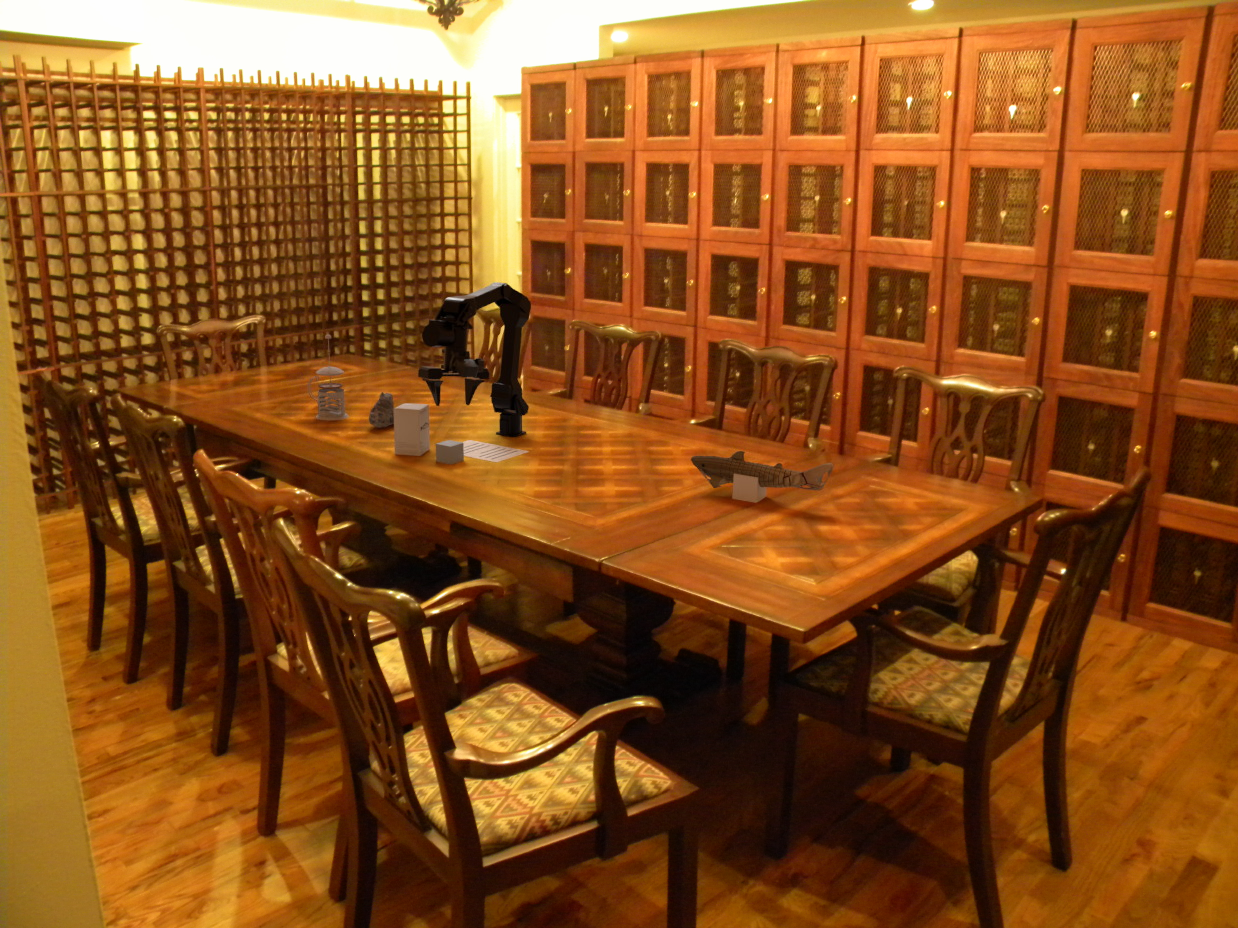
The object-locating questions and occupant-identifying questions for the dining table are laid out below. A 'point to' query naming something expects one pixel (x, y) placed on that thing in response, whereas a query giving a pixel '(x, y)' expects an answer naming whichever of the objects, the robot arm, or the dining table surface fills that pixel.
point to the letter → (489, 451)
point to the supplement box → (411, 429)
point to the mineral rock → (382, 411)
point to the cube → (449, 452)
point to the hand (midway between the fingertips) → (452, 405)
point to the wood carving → (756, 475)
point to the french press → (330, 394)
